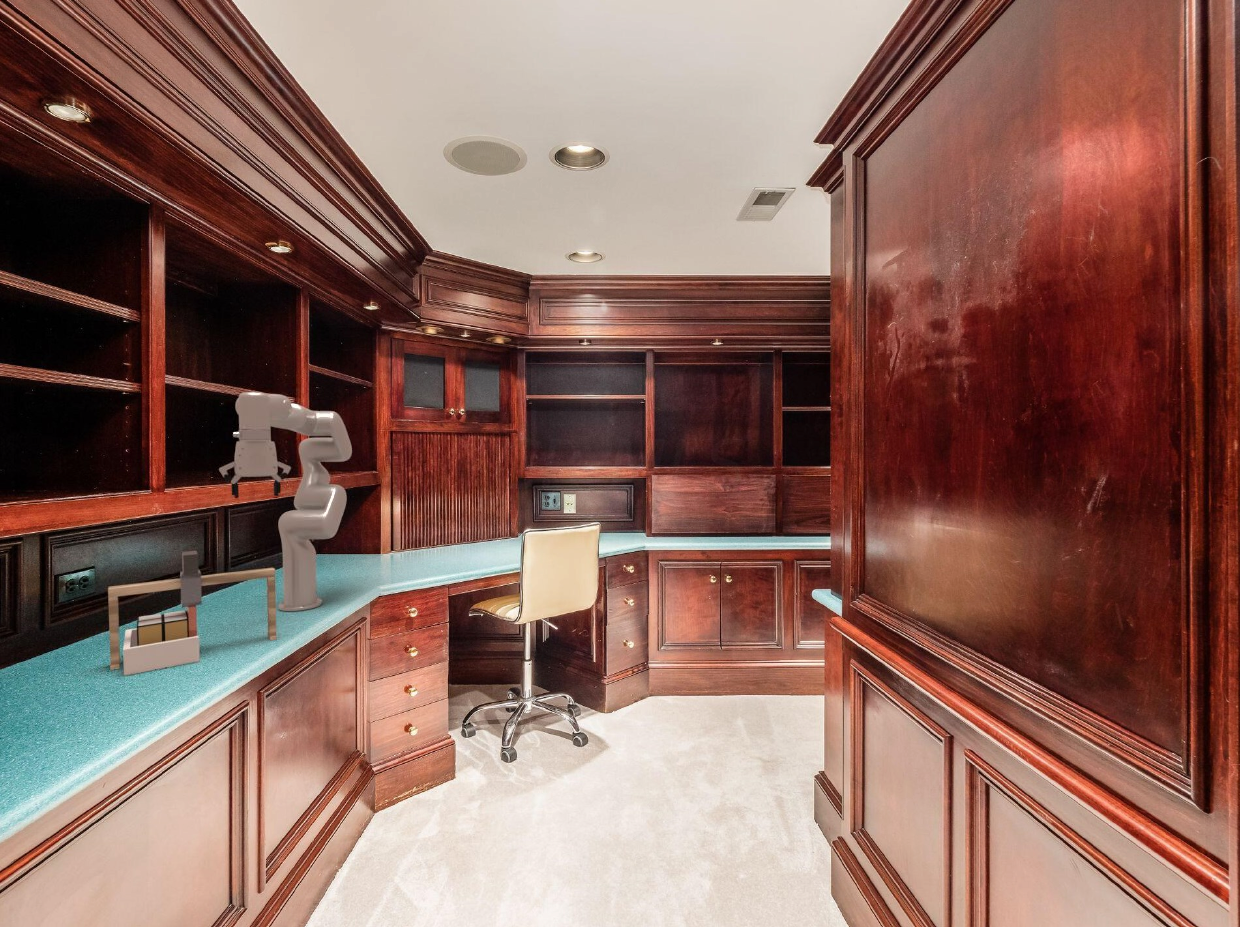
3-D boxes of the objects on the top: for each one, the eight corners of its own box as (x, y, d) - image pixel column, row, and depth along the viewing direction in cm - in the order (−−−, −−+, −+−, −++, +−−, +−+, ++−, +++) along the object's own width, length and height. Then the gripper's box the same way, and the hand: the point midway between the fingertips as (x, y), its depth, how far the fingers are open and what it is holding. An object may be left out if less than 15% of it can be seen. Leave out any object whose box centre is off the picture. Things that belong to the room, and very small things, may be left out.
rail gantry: (111, 662, 143) (109, 585, 142) (273, 633, 164) (272, 566, 163) (110, 670, 138) (107, 590, 137) (277, 639, 159) (275, 570, 159)
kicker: (182, 642, 152) (179, 551, 152) (200, 639, 155) (198, 549, 154) (183, 652, 145) (180, 556, 144) (203, 648, 148) (200, 554, 147)
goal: (126, 653, 149) (125, 629, 149) (195, 641, 158) (194, 619, 158) (124, 675, 135) (123, 649, 135) (199, 661, 144) (199, 636, 143)
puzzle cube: (138, 655, 147) (137, 616, 147) (187, 647, 154) (186, 609, 153) (137, 667, 140) (136, 626, 139) (189, 658, 146) (188, 618, 146)
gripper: (219, 436, 157) (221, 499, 157) (292, 436, 168) (293, 496, 168) (217, 436, 163) (218, 497, 163) (287, 436, 174) (288, 494, 174)
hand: (256, 496), depth 166 cm, fingers open, 9 cm apart
